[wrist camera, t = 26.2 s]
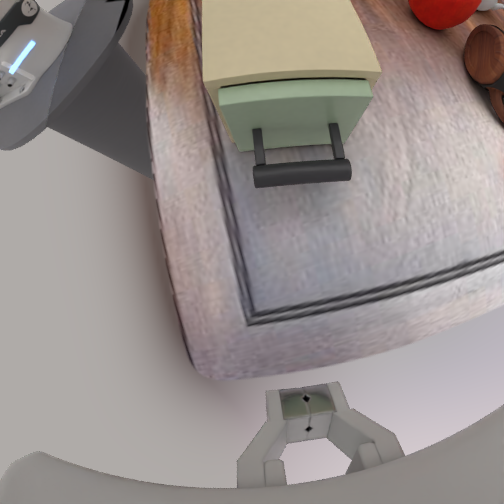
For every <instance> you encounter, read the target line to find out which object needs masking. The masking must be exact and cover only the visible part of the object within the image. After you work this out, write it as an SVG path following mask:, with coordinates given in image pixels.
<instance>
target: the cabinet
mask: <svg viewBox="0 0 504 504" xmlns="http://www.w3.org/2000/svg"><path fill="white" fill-rule="evenodd" d="M202 67H203V83H204V85H205V87H206V89H207V91H208V93H209V95H210V97H211V99H212V101H213V103H214V105H215V108H216V110H217V112H218V114H219V116H220V118H221V120H222V122H223V124H224V127H225V129H226V131H227V133H228V135H229V137H230V139H231V142H232V143H235V141H234V139H233V136H232V134H231V132H230V129H229V127H228V125H227V123H226V120H225V118H224V116H223V113H222V111H221V109H220V107H219V99H218V89H221V88H227V87H233V86H234V84H240V83H247V82H256V81H265V80H276V79H289V78H310V77H345V79H352V80H368V81H369V84H370V87H371V90H372V89H373V87H374V85H375V83H376V82H377V80H378V79H379V77H380V75H381V74H382V70H381V67H380V65H379V62H378V60H377V57H376V55H375V52H374V50H373V48H372V45H371V43H370V41H369V38H368V36H367V34H366V32H365V30H364V27H363V25H362V23H361V21H360V19H359V17H358V15H357V13H356V11H355V9H354V7H353V6H352V4H351V2H350V0H202Z"/></svg>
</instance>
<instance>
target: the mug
mask: <svg viewBox="0 0 504 504" xmlns="http://www.w3.org/2000/svg"><path fill="white" fill-rule="evenodd" d="M464 59H465V65H466V68H467V70H468V72H469V73H470V75H471V77H472V79H473V80H474V81H475V82H476V83H478V84H479V85H480V86H482V87H483V88H485V89H486V90H487V91H489V94H490V100H491V103H492V106H493V108H494V110H495V112H496V113H497V115H498V116H499V118H500V119H501V121H502V122H503V123H504V105H503V103H502V98H504V31H502V30H501V29H500V28H498V27H497V26H494V25H487V24H483V25H479V26H477V27H476V28H475V29H474V30H473V31H472V32H471V33H470V35H469V37H468V39H467V42H466V46H465V52H464Z"/></svg>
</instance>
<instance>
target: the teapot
mask: <svg viewBox="0 0 504 504" xmlns="http://www.w3.org/2000/svg"><path fill="white" fill-rule="evenodd" d="M497 1H498V0H482V2H481V3H480V5H479V6H478V8H477V10H480V11H486V10H489V9H492V10H497V9H504V4H500V3H497Z"/></svg>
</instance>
